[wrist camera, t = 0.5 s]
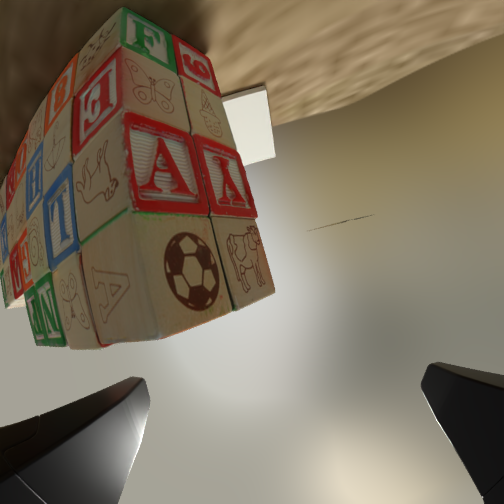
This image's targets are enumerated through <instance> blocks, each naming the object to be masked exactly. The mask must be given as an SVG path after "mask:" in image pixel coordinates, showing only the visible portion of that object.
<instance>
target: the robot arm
mask: <svg viewBox="0 0 504 504" xmlns="http://www.w3.org/2000/svg"><path fill="white" fill-rule="evenodd" d="M421 390H422V392H423V394H424V396H425V398H426V400H427V402H428V404H429V406H430V408H431V410H432V412H433V414H434V416H435V418H436V420H437V421H438V423H439V425H440V426H441V428H442V429H443V431H444V433H445V434H446V436H447V437H448V439H449V441H450V442H451V444H452V446H453V447H454V449H455V451H456V452H457V454H458V456H459V457H460V459H461V460H462V462H463V464H464V466H465V468H466V469H467V471H468V473H469V475H470V476H471V478H472V480H473V482H474V484H475V485H476V487H477V489H478V491H479V493H480V495H481V496H482V498H483V501H484V504H504V375H500V374H495V373H490V372H484V371H479V370H474V369H470V368H465V367H460V366H455V365H451V364H446V363H442V362H436V363H431V364H429V365H428V367H427V369H426V372H425V374H424V376H423V379H422V381H421ZM149 407H150V396H149V393H148V389H147V385H146V381H145V380H144V379H143V378H140V377H130V378H127V379H125V380H123V381H121V382H118V383H116V384H114V385H112V386H109V387H107V388H105V389H103V390H101V391H98V392H96V393H93V394H91V395H89V396H86V397H84V398H82V399H79V400H77V401H74V402H72V403H69V404H67V405H65V406H62V407H60V408H57V409H54V410H52V411H50V412H47V413H44V414H41V415H40V417H39V416H35V417H32V418H30V419H27V420H24V421H21V422H18V423H14V424H11V425H7V426H4V427H0V504H118V502H119V499H120V496H121V493H122V491H123V488H124V485H125V483H126V480H127V477H128V474H129V472H130V469H131V467H132V464H133V461H134V459H135V456H136V454H137V451H138V448H139V446H140V443H141V440H142V436H143V432H144V428H145V423H146V419H147V415H148V411H149Z"/></svg>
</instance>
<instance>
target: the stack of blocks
mask: <svg viewBox="0 0 504 504" xmlns="http://www.w3.org/2000/svg"><path fill="white" fill-rule="evenodd" d="M221 99H222V98H221V93H220V90H219V87H218V83H217V81H216V77H215V74H214V70H213V67H212V64H211V61H210V59H209V58H208V57H207V56H205V55H204V54H202V53H201V52H200V51H198V50H197V49H195V48H193V47H192V46H191V45H189V44H188V43H186V42H185V41H183V40H181V39H180V38H178V37H177V36H175V35H171V34H169V33H168V32H167V31H165V30H164V29H162V28H161V27H159V26H157V25H156V24H154V23H152V22H150V21H149V20H147V19H145V18H143V17H142V16H140V15H138V14H136V13H134V12H133V11H131V10H129V9H127V8H125V7H122V8H120V9H118V10H117V11H116V12H115V13H114V14H113V15H112V16H111V17H110V18H109V19H108V20H107V21H106V22H105V23H104V24H103V26H102V27H101V28H100V29H99V30H98V31H97V32H96V33H95V34H94V35H93V36H92V38H91V39H90V40H89V41H88V42H87V43H86V44H85V46H84V47H83V48H82V50H81V51H80V52H78V53H77V54H76V55H75V56H74V57H73V58H72V60H71V61H70V62H69V64H68V65H67V66H66V68H65V69H64V70H63V72H62V73H61V75H60V76H59V77H58V79H57V80H56V82H55V83H54V85H53V86H52V88H51V89H50V91H49V93H48V94H47V95H46V97H45V98H44V100H43V101H42V103H41V105H40V106H39V108H38V110H37V111H36V113H35V115H34V117H33V119H32V120H31V122H30V124H29V129H28V131H27V133H26V135H25V137H24V139H23V141H22V143H21V145H20V147H19V149H18V151H17V155H16V157H15V159H14V161H13V163H12V165H11V168H10V170H9V172H8V175H7V176H6V177H5V179H4V182H3V184H2V187H1V190H0V279H1V285H2V292H3V298H4V302H5V308H6V309H9V308H15V307H22V306H26V308H27V312H28V317H29V321H30V325H31V328H32V332H33V336H34V339H35V343H36V345H37V346H50V347H67V346H69V347H70V349H72V350H101V349H104V348H107V347H109V346H112V345H116V344H120V343H125V342H139V341H151V340H159V339H163V338H167V337H169V336H172V335H175V334H178V333H180V332H183V331H186V330H188V329H191V328H194V327H196V326H199V325H201V324H204V323H207V322H209V321H211V320H214V319H216V318H218V317H221V316H224V315H226V314H228V313H230V312H232V311H238V310H240V309H242V308H244V307H246V306H248V305H251V304H253V303H255V302H257V301H259V300H261V299H263V298H266V297H268V296H270V295H272V294H274V293H275V287H274V283H273V280H272V276H271V272H270V269H269V265H268V262H267V258H266V254H265V251H264V247H263V244H262V240H261V237H260V233H259V230H258V228H257V224H256V222H255V219H256V218H257V217H258V215H257V211H256V208H255V204H254V199H253V196H252V194H251V190H250V186H249V183H248V181H247V177H246V171H245V169H244V166H243V163H242V159H241V157H240V154H239V153H238V152H237V147H236V144H235V141H234V138H233V134H232V131H231V128H230V125H229V122H228V118H227V115H226V112H225V109H224V106H223V103H222V101H221Z"/></svg>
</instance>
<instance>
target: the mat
mask: <svg viewBox="0 0 504 504" xmlns="http://www.w3.org/2000/svg"><path fill="white" fill-rule="evenodd" d="M221 101H222V103H223V106H224V109H225V112H226V115H227V118H228V122H229V125H230V128H231V131H232V134H233V138H234V141H235V144H236V147H237V152H238V153H239V154H240V157H241V159H242V163H243V166H244V165H248V164H251V163H255V162H258V161H261V160H265V159H268V158H272V157H275V149H274V142H273V135H272V128H271V121H270V114H269V107H268V100H267V94H266V89H265V86H260V87H256V88H253V89H249V90H245V91H242V92H238V93H235V94H232V95H228V96H225V97H222V99H221Z"/></svg>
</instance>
